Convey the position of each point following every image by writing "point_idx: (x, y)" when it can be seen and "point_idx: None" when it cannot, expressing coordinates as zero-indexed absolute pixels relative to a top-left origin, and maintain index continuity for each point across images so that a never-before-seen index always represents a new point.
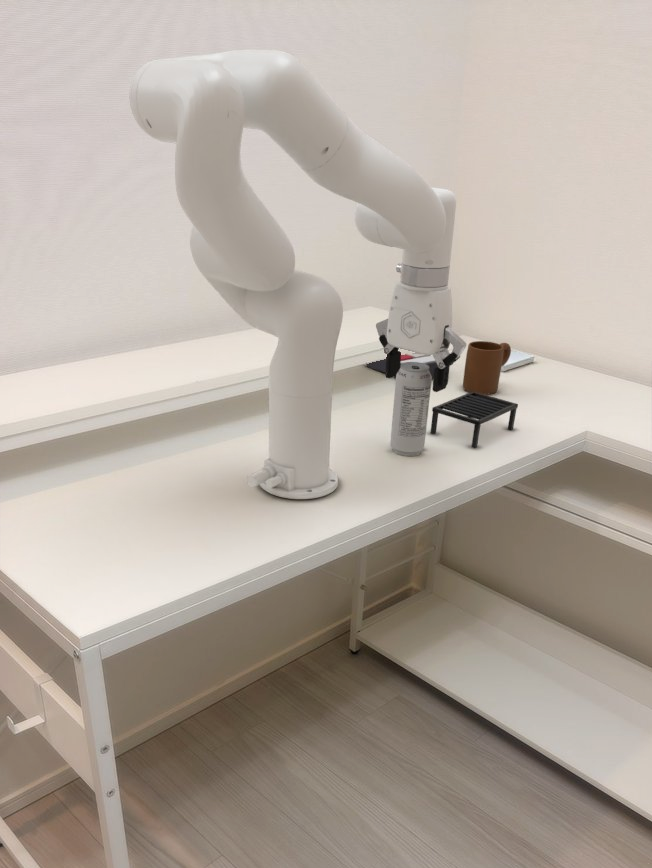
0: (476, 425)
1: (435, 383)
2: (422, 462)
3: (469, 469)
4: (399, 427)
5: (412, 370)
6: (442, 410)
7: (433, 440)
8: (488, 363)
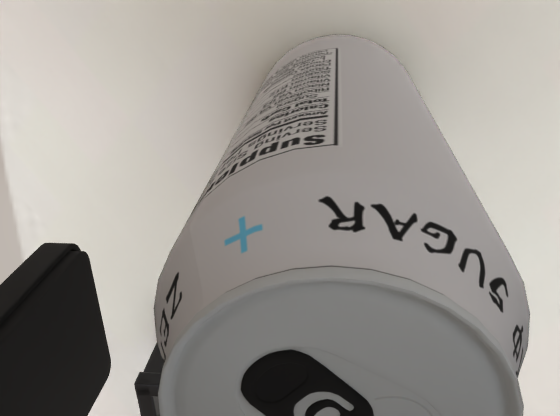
0: (151, 371)
1: (12, 278)
2: (207, 54)
3: (46, 137)
4: (336, 57)
5: (249, 287)
6: None
7: None
8: None
